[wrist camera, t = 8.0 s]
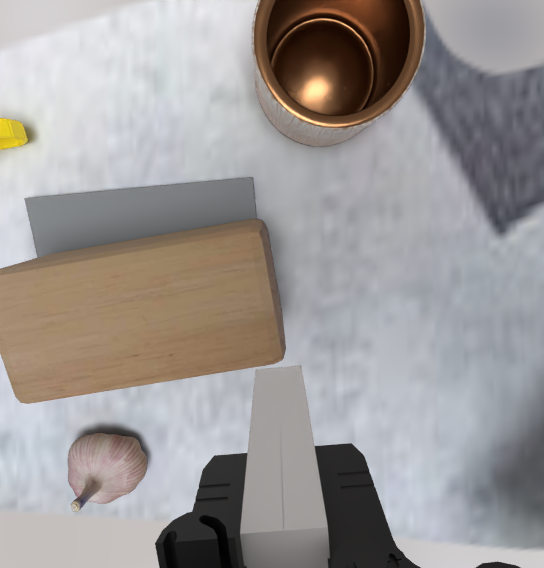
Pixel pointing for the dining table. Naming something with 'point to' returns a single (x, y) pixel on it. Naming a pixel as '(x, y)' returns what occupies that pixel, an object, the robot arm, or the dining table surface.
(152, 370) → the wooden block
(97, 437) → the garlic bulb
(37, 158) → the dining table surface
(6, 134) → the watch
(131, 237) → the mat
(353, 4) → the planter
